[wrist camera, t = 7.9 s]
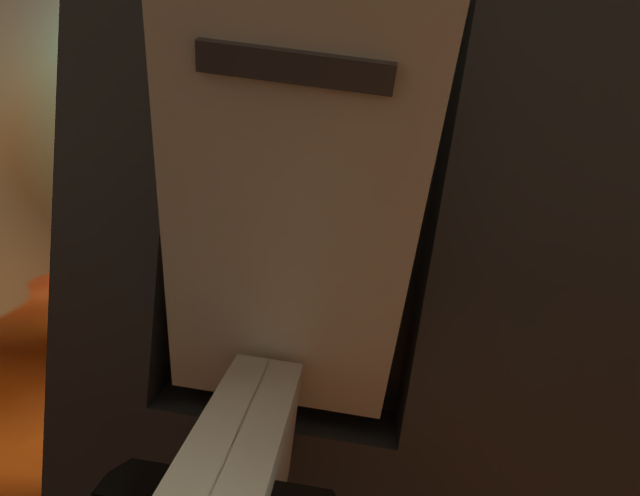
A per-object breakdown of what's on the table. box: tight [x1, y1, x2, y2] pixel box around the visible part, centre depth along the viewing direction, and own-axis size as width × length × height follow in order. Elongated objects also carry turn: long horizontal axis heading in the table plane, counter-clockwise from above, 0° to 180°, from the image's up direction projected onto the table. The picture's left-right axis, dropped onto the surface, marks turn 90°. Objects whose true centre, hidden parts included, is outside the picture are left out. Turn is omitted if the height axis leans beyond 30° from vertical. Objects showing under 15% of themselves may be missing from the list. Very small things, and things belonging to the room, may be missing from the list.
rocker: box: [142, 0, 470, 419], centre depth 12 cm, size 2×5×10 cm, turn 85°
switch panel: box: [41, 0, 640, 496], centre depth 20 cm, size 16×24×20 cm, turn 85°
